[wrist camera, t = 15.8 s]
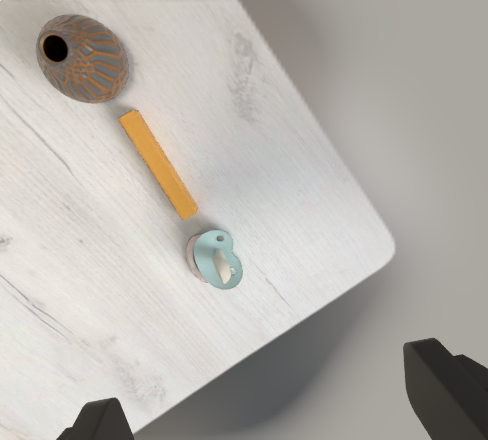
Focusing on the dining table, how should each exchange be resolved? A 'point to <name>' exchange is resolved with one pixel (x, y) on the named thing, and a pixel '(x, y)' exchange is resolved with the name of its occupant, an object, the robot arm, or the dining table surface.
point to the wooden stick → (158, 163)
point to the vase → (82, 58)
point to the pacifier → (214, 259)
